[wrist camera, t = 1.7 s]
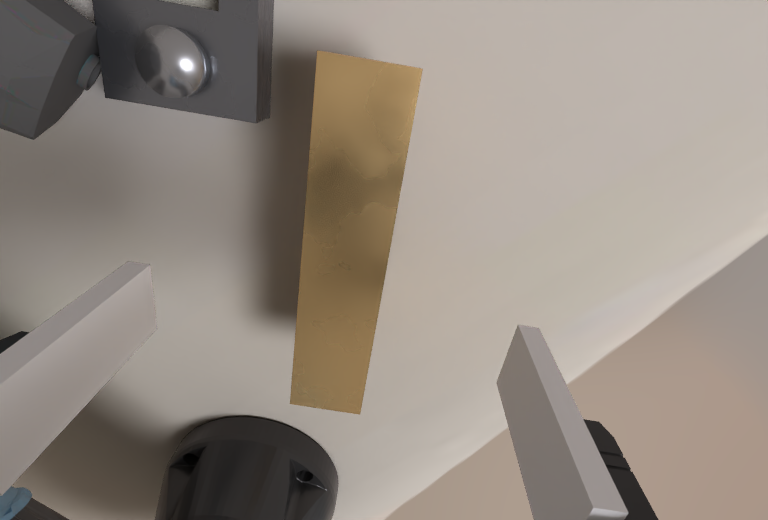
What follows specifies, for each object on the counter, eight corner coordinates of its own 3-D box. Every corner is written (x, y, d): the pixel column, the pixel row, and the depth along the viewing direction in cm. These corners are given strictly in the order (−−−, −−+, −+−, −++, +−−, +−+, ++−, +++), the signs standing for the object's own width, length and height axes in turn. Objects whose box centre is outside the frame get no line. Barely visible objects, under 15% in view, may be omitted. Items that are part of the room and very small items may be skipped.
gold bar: (370, 331, 30) (360, 414, 23) (316, 322, 30) (290, 403, 23) (416, 66, 23) (422, 69, 15) (344, 54, 22) (317, 50, 15)
